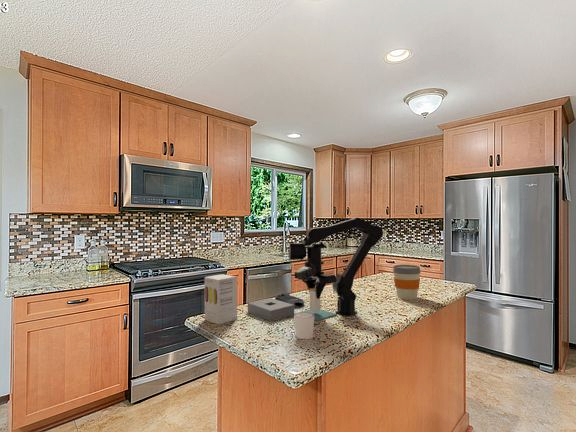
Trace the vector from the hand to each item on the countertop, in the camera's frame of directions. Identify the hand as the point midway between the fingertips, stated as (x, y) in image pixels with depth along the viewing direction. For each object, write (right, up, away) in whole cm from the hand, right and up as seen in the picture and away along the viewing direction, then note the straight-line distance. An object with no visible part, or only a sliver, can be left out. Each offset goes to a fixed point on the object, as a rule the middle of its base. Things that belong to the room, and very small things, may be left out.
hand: (315, 297), depth 128 cm
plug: (0, -5, 0) cm, 5 cm away
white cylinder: (-5, -7, -23) cm, 25 cm away
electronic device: (-10, -8, +18) cm, 22 cm away
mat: (0, -7, 0) cm, 7 cm away
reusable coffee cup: (+47, -7, +26) cm, 54 cm away
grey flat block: (-18, -7, +3) cm, 20 cm away
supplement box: (-37, -8, -4) cm, 38 cm away
